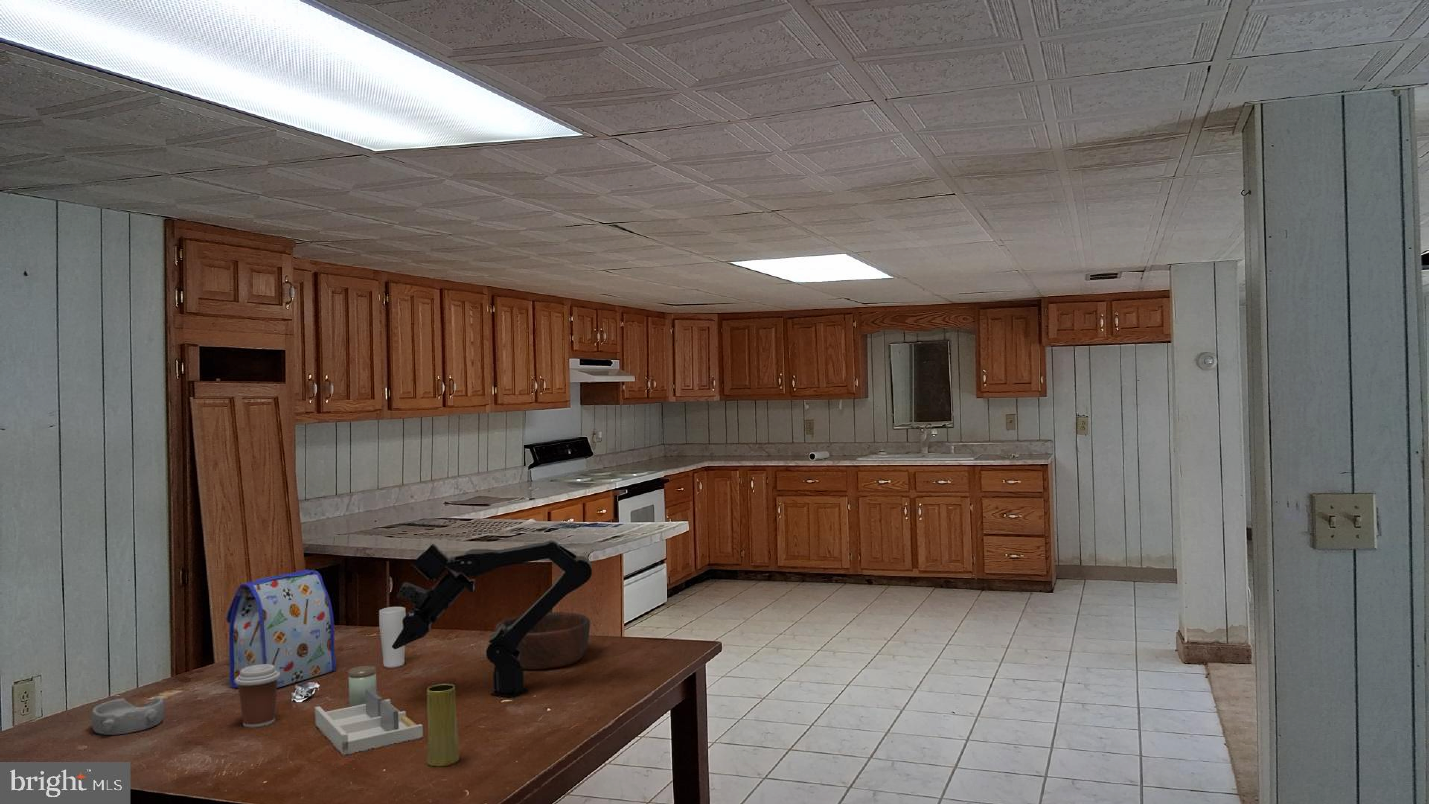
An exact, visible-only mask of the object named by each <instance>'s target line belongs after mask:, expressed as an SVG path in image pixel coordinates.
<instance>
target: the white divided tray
mask: <svg viewBox="0 0 1429 804" xmlns="http://www.w3.org/2000/svg"><path fill="white" fill-rule="evenodd" d="M380 713H381V716H379V717H374V718H371V717H370V716H368V715H367V714H366V704H362V705H357V706H352V707H350V706H349V707H343V708H338V709H333V710H328V711H325V710H324V709H323V708H322V707H321V706H315V707H314V723H315V724H314V725H316V726H317V727H318V728H319V729H320V730H319V729H318V728H317V727H316V726H315V727H316V728H317V729H318V730H319V731H320V732H321V731H322V732H321V734H322V735H324V737H325V736H326V737H327V738H328V739H329V740H330V741H331V742H330V741H329V740H328V739H327V738H326V737H325V738H326V739H327V740H328V741H329V742H330V743H331V744H332V743H333V744H332V745H333V747H335V748H336V749H337V751H338V750H339V751H340V752H341V753H340V752H339V751H338V752H339V753H340V754H341V755H342V754H343V755H342V756H347V755H346V754H348V755H351V754H356V753H355V752H357V753H360V752H359V751H361V752H365V751H369V750H368V749H370V750H372V749H371V748H374V749H377V748H378V749H379V748H381V747H382V746H383V747H386V746H391V745H395V744H394V743H396V744H399V743H405V742H409V741H413V740H418V739H421V737H422V738H424V730H423V724H420V723H419V724H416V723H415V722H414V721H413V720H411V719H410V718H409V717H407V714H406V713H407V712H406V710H402V711H400V710H399V709H397V708H396V706H394V705H393V704H391V699H390V698H388V699H387V698H386V699H384V700H383V699H382V701H380ZM408 740H409V741H408ZM404 741H405V742H404ZM390 744H391V745H390Z"/></svg>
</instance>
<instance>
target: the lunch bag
mask: <svg viewBox="0 0 1429 804" xmlns="http://www.w3.org/2000/svg"><path fill="white" fill-rule="evenodd" d="M225 618H226V622H227V623H228V624H229V628H228V630H229V631H228V632H229V633H228V654H229V655H228V656H229V657H228V666H229V682H228V683H229V684H230V686H231V687H233V688H238V689H239V686H238V685H237V684H236V683H235V679H236V677H238V676H239V674H240V671H241V670H242V669H243V668H245V667H249V666H253V665H261V664H270V665H274V666H275V670H277V671H278V672H280V678H279V679H277V689H278V688H281V687H285V686H287V685H292V684H294V683H297V682H302V681H305V680H308V679H311V678H315V677H318V676H321V675H324V674H328V673H331V672H335V671H336V670H337V663H336V661H337V660H336V654H335V621H334V612H333V607H332V602H331V598H330V596H329V593H328V591H327V588H326V586H325V584H324V580H323V577H322V575H321V573H320V572H319V571H317V570H313V569H312V570H309V569H304V570H303V569H302V570H299V571H294V572H290V573H283V574H281V575H275V576H267V577H261V578H259V579H256V580H254V581H253V580H252V581H249V582H246V583H240V585H239V587H238V588H237V591H236V592H235V594H234V597H233V599H232V601H231V603H230V606H229V608H228V610H227V614H226V617H225Z"/></svg>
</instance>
